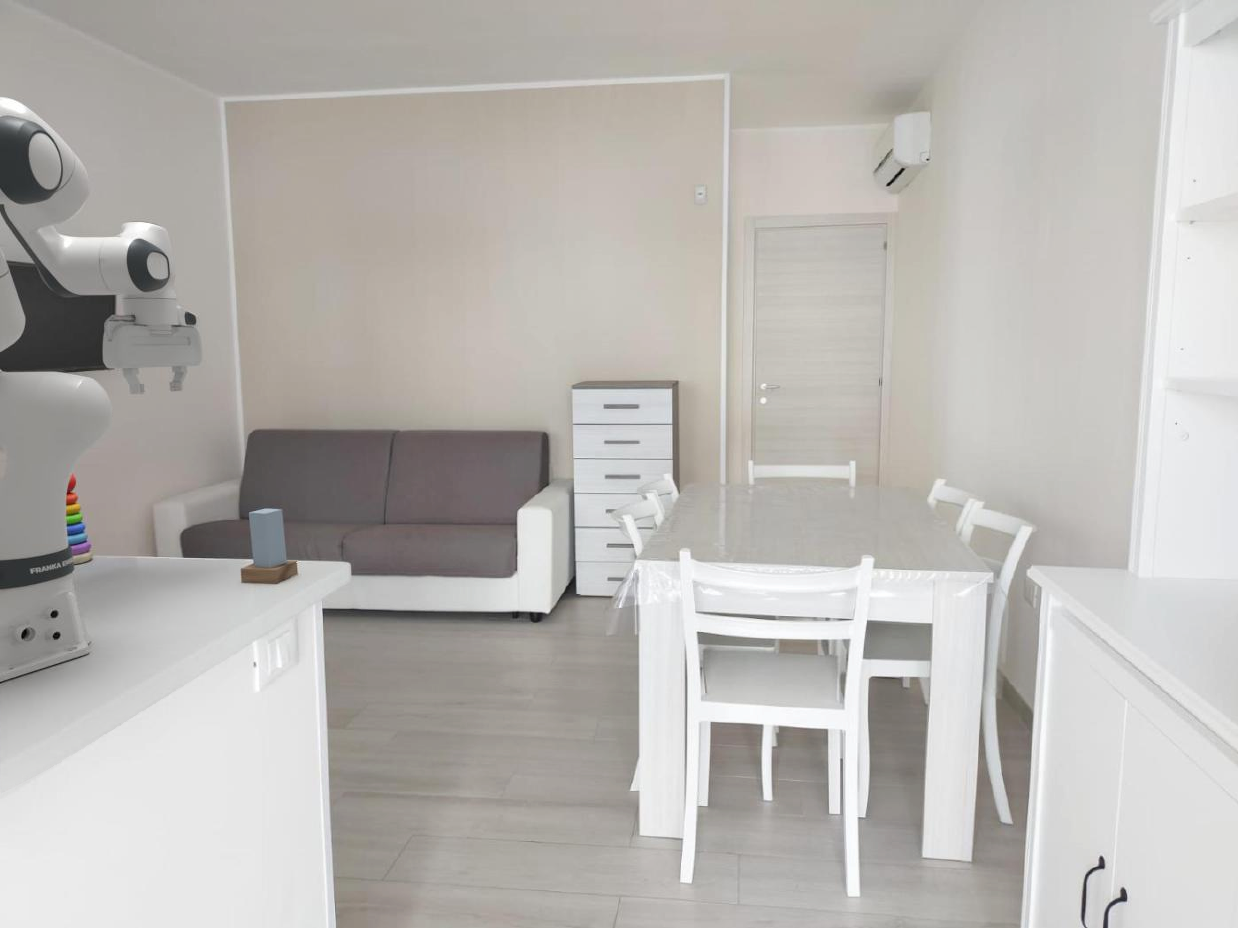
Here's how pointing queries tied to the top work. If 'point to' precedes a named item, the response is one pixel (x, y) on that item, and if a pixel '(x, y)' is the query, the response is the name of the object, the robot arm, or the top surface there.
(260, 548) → the pillar
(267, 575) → the base block
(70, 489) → the stacking toy
